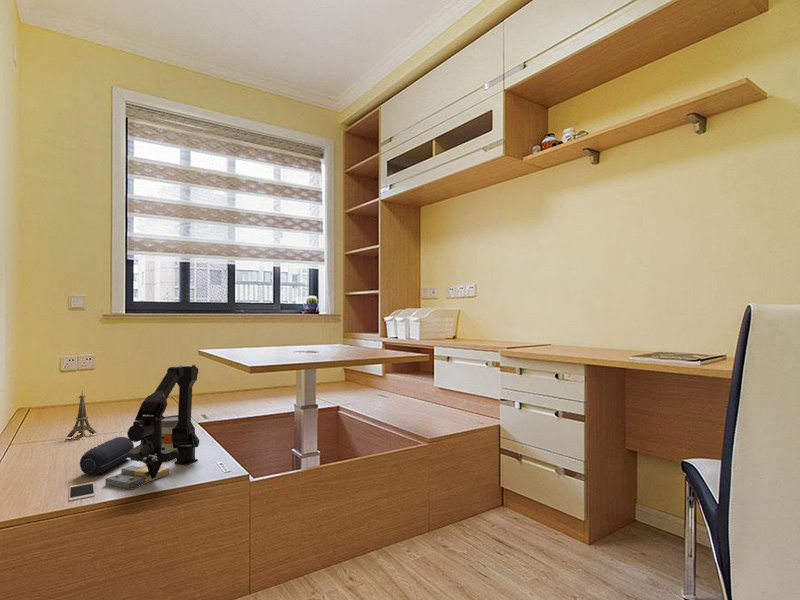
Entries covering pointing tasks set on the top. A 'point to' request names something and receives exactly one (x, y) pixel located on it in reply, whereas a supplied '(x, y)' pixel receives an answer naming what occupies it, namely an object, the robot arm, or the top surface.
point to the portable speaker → (105, 455)
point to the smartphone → (81, 491)
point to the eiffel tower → (82, 420)
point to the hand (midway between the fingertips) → (153, 478)
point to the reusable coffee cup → (168, 431)
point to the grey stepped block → (125, 479)
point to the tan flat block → (145, 473)
